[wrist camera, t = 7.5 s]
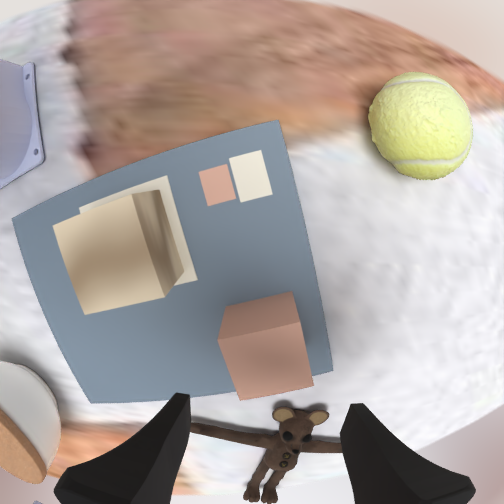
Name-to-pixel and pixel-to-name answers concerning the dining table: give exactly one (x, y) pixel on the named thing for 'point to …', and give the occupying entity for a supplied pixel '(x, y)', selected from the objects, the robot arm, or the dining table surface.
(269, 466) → the bear figurine
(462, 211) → the dining table surface
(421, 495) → the robot arm
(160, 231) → the maple block
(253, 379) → the terracotta block
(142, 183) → the board
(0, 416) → the lidded bowl
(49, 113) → the dining table surface
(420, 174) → the tennis ball
